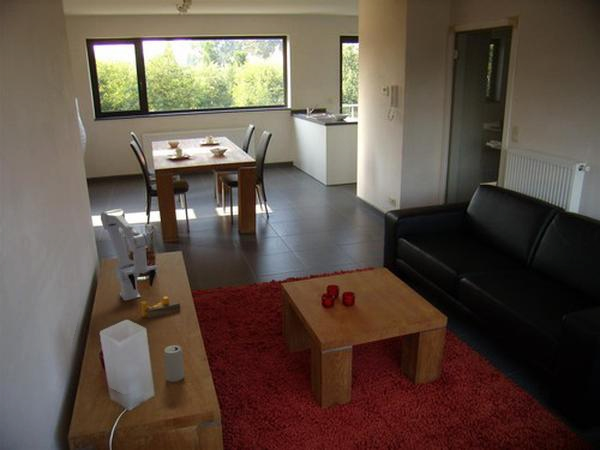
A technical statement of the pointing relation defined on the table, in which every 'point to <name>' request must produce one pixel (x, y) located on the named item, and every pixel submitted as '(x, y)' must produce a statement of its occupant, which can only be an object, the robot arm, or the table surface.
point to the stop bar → (163, 309)
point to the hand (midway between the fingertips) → (142, 287)
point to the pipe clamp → (144, 306)
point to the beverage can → (174, 363)
